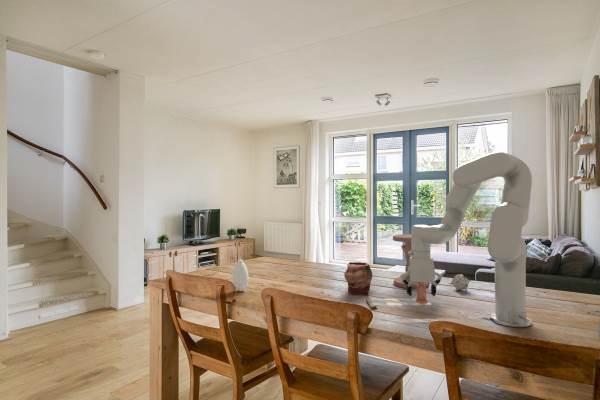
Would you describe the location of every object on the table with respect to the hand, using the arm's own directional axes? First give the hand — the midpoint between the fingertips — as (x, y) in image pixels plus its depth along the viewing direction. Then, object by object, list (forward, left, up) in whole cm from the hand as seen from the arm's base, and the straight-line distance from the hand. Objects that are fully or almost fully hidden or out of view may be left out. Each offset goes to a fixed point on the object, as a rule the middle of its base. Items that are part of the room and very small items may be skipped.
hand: (421, 295), depth 149 cm
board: (0, +9, -4) cm, 10 cm away
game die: (+22, -25, -4) cm, 34 cm away
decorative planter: (+21, +23, -4) cm, 31 cm away
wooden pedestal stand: (+34, -5, -4) cm, 35 cm away
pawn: (0, 0, -3) cm, 3 cm away
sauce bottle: (+24, +81, -4) cm, 85 cm away
